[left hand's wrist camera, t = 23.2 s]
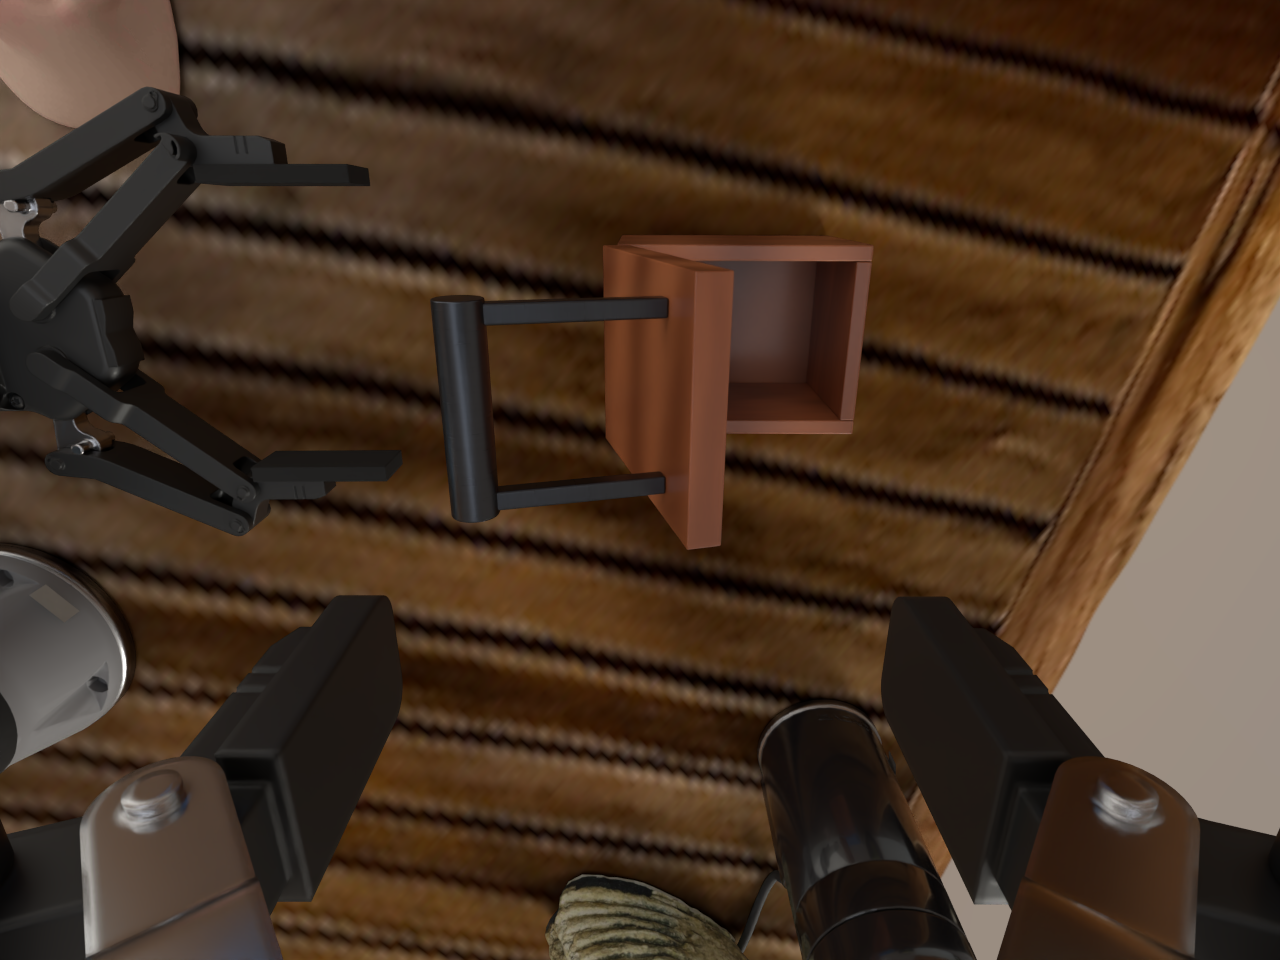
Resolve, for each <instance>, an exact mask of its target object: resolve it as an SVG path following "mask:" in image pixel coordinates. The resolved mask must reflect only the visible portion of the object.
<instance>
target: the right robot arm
mask: <svg viewBox="0 0 1280 960" xmlns="http://www.w3.org/2000/svg"><path fill="white" fill-rule="evenodd" d="M197 116H198V113H197V108H196V106H195V104H194V103H193V102H192V101H191V100H190V99H189V98H187V97H185V96H181V95H178V94H174V93H171V92H167V91H164V90H160V89H157V88H153V87H147V86H146V87H143V88H141V89H139V90H137V91H136V92H134V93H133V94H131V95H129V96H128V97H126V98H125V99H123V100H121V101H120V102H118V103H117V104H115V105H113V106H112V107H110V108H108V109H107V110H105V111H104V112H102V113H100V114H99V115H97V116H96V117H94V118H92V119H91V120H89V121H88V122H86V123H84V124H83V125H81V126H80V127H78V128H76V129H75V130H73V131H71V132H70V133H68V134H67V135H65V136H63V137H62V138H60V139H59V140H57V141H55V142H54V143H52V144H51V145H49V146H47V147H46V148H44V149H43V150H41V151H39V152H38V153H36V154H34V155H33V156H31V157H30V158H28V159H26V160H25V161H23V162H22V163H20V164H18V165H17V166H15V167H14V168H12V169H4V170H0V233H1V235H2V238H3V239H2V240H1V241H0V411H32V412H36V413H39V414H42V415H44V416H46V417H48V418H50V419H53V422H54V428H55V435H56V441H57V447H58V450H56V451H54V452H51V453H49V454H48V455H47V456H46V458H45V465H46V467H47V468H48V470H49V471H50V472H52V473H53V474H56V475H59V476H70V477H80V478H90V479H96V480H99V481H101V482H104V483H106V484H109V485H111V486H114V487H116V488H119V489H121V490H123V491H126V492H128V493H131V494H133V495H136V496H138V497H141V498H143V499H146V500H148V501H151V502H153V503H156V504H158V505H160V506H163V507H165V508H168V509H170V510H173V511H175V512H178V513H180V514H183V515H185V516H188V517H190V518H192V519H195V520H197V521H200V522H202V523H205V524H207V525H210V526H212V527H215V528H217V529H220V530H222V531H225V532H227V533H229V534H232V535H235V536H243V535H244V534H246V533H247V532H249V531H250V530H251V529H252V528H253V527H255V526H256V525H257V524H258V523H259V522H261V521H262V520H263V519H264V518H265V517H267V516H268V515H269V513H270V510H271V507H270V504H269V499H317V498H320V497H322V496H325V495H326V494H327V493H329V492H330V491H331V490H332V489H333V488H334V487H335V486H336V482H335V481H387V480H388V479H389V478H390V477H391V476H392V475H393V474H394V473H395V472H396V470H397V469H398V468H399V467H400V466H401V465H402V464H403V463H402V455H401V450H362V451H275V452H274V453H272V454H271V455H269V456H268V457H266V458H265V459H263V460H260V459H259V458H257V457H256V456H255V455H253V454H252V453H250V452H249V451H247V450H246V449H244V448H243V447H241V446H240V445H239V444H237V443H236V442H234V441H233V440H231V439H230V438H228V437H227V436H225V435H224V434H223V433H221V432H220V431H218V430H217V429H215V428H214V427H212V426H211V425H209V424H208V423H207V422H205V421H204V420H202V419H201V418H199V417H198V416H196V415H195V414H194V413H192V412H191V411H189V410H188V409H186V408H185V407H183V406H182V405H180V404H179V403H178V402H176V401H175V400H173V399H172V398H170V397H169V396H167V395H166V394H165V391H164V388H163V386H162V385H160V384H159V383H158V382H156V381H155V380H153V379H152V378H150V377H149V376H147V375H146V374H145V373H143V372H142V371H140V370H139V369H138V367H139V361H141V360H145V359H144V355H143V350H142V346H141V343H140V341H139V339H138V337H137V335H136V333H135V331H134V329H133V307H132V303H131V299H130V295H124V294H123V292H122V291H121V289H120V288H119V287H118V286H117V284H116V282H117V281H118V280H119V279H120V278H121V277H122V276H123V275H124V273H125V272H126V271H127V270H128V269H129V268H130V267H131V266H132V265H133V264H134V262H135V258H134V257H135V255H136V254H137V253H138V252H139V250H140V249H141V248H142V247H143V246H144V245H145V244H146V243H147V242H148V241H149V240H150V238H151V237H152V236H153V235H154V234H155V233H156V232H157V231H158V230H159V229H160V228H161V226H162V225H163V224H164V223H165V222H166V221H167V220H168V219H169V218H170V217H171V216H172V214H173V213H174V212H175V211H176V210H177V209H178V208H179V207H180V206H181V205H182V204H183V202H184V201H185V200H186V199H187V198H188V197H189V196H190V195H191V194H192V193H193V192H194V190H195V189H196V188H197V187H198V186H199V185H200V184H213V185H224V186H370V181H369V172H368V168H363V167H358V166H354V165H349V164H288V162H287V156H286V149H285V144H283V143H281V142H278V141H276V140H273V139H269V138H265V137H261V136H209V135H208V134H207V133H206V132H205V131H204V130H203V129H202V127H201V126H200V124H199V122H198V120H197ZM156 146H157V147H156ZM154 147H156V148H155V149H154V150H153V151H152V152H151V153H150V155H149V156H148V157H147V158H146V159H145V160H144V161H143V162H142V164H141V165H140V166H139V167H138V168H137V169H136V170H135V171H134V173H133V174H132V175H131V176H130V177H129V178H128V179H127V180H126V182H125V183H124V184H123V185H122V186H121V187H120V188H119V189H118V191H117V192H116V193H115V194H114V195H113V196H112V197H111V199H110V200H109V201H108V202H107V203H106V204H105V205H104V206H103V208H102V209H101V210H100V211H99V212H98V213H97V214H96V215H95V217H94V218H93V219H92V220H91V221H90V222H89V223H88V224H87V226H86V227H85V228H84V229H83V230H82V231H81V232H80V234H79V235H78V236H77V237H75V238H74V239H71V240H69V241H67V242H65V243H64V244H62V245H61V246H60V247H59V246H57V245H55V244H54V243H52V242H51V241H49V240H47V239H44V238H41V237H40V236H39V232H38V230H39V225H40V224H41V222H42V221H44V220H46V219H49V218H50V217H51V215H52V213H55V212H56V211H57V205H56V203H55V202H54V201H58V200H63V199H66V198H69V197H72V196H74V195H76V194H78V193H80V192H82V191H83V190H85V189H87V188H88V187H90V186H91V185H93V184H95V183H96V182H98V181H100V180H101V179H103V178H105V177H106V176H108V175H110V174H111V173H113V172H115V171H116V170H118V169H120V168H121V167H123V166H124V165H126V164H128V163H129V162H131V161H133V160H134V159H136V158H138V157H139V156H141V155H143V154H144V153H146V152H148V151H149V150H151V149H153V148H154ZM119 389H121V390H123V392H116V391H117V390H119ZM91 412H94V413H96V414H97V415H99V416H100V417H102V418H103V419H105V420H107V421H109V422H112V423H120V424H123V425H125V426H126V427H128V428H129V429H131V430H132V431H134V432H135V433H137V434H138V435H140V436H141V437H143V438H144V439H146V440H147V441H149V442H150V443H152V444H153V445H155V446H156V447H158V448H159V449H161V450H162V451H164V452H165V453H167V454H168V455H170V456H171V457H173V458H174V459H176V460H177V461H179V462H180V463H182V464H183V465H182V464H180V463H177V462H175V461H173V460H170V459H168V458H165V457H163V456H161V455H158V454H156V453H153V452H151V451H149V450H146V449H144V448H141V447H139V446H136V445H133V444H129V443H125V442H120V441H114V440H115V435H114V434H113V433H112V432H110V431H106V432H105V431H103V430H100V429H97V428H95V427H93V426H92V425H91V424H90V423H89V421H88V419H87V414H89V413H91ZM135 664H136V654H135V646H134V641H133V638H132V634H131V632H130V629H129V627H128V624H127V622H126V621H125V619H124V617H123V615H122V613H121V612H120V610H119V609H118V607H117V606H116V605H115V603H114V602H113V601H112V600H111V598H110V597H109V596H108V595H107V594H106V593H105V592H104V591H103V590H102V589H101V588H100V587H99V586H98V585H97V584H96V583H95V582H94V581H92V580H91V579H90V578H89V577H88V576H86V575H85V574H83V573H82V572H81V571H79V570H78V569H76V568H75V567H73V566H71V565H70V564H68V563H66V562H64V561H62V560H60V559H58V558H56V557H54V556H52V555H49V554H47V553H44V552H41V551H38V550H35V549H32V548H28V547H24V546H20V545H14V544H6V543H0V773H1V772H3V771H4V770H5V769H6V768H7V767H9V766H10V765H12V764H14V763H16V762H18V761H20V760H22V759H24V758H26V757H28V756H30V755H32V754H34V753H36V752H38V751H40V750H42V749H44V748H46V747H49V746H51V745H53V744H55V743H57V742H59V741H61V740H63V739H65V738H67V737H69V736H71V735H73V734H75V733H77V732H79V731H81V730H83V729H85V728H86V727H88V726H89V725H91V724H92V723H94V722H95V721H97V720H98V719H100V718H101V717H102V716H103V715H105V714H106V713H107V712H108V711H109V710H110V709H111V708H112V707H113V706H114V705H115V704H116V703H117V702H118V701H119V700H120V699H121V698H122V697H123V696H124V694H125V693H126V691H127V690H128V688H129V686H130V684H131V682H132V679H133V676H134V671H135Z"/></svg>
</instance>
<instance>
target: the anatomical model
mask: <svg viewBox="0 0 1280 960" xmlns="http://www.w3.org/2000/svg"><path fill="white" fill-rule="evenodd" d="M0 77H1V79H2V80H3V81H4V82H5V83H6V84H7V85H8V87H9V88H10V89H11V90H12V91H13V92H14V93H15V94H16V95H17V96H18V97H19V98H20V99H21V100H22V101H23V102H24V103H25V104H26V105H28V106H29V107H30V108H31V109H33V110H34V111H35V112H37V113H38V114H40V115H41V116H43V117H45V118H47V119H49V120H51V121H54V122H56V123H58V124H62V125H65V126H68V127H73V128H78V127H80V126H81V125H83V124H84V123H86V122H88V121H89V120H91V119H92V118H94V117H96V116H97V115H99V114H100V113H102V112H104V111H105V110H107V109H108V108H110V107H112V106H113V105H115V104H117V103H118V102H120V101H121V100H123V99H125V98H126V97H128V96H129V95H131V94H133V93H134V92H136V91H137V90H139V89H141V88H143V87H146V86H147V87H153V88H157V89H160V90H164V91H167V92H171V93H174V94H178V95H180V68H179V53H178V40H177V33H176V28H175V23H174V18H173V13H172V9H171V4H170V0H0Z"/></svg>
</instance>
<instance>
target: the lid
mask: <svg viewBox="0 0 1280 960" xmlns="http://www.w3.org/2000/svg"><path fill="white" fill-rule="evenodd" d="M603 270H604V297H603V298H570V299H538V300H506V301H484V298H483V297H480V296H473V295H451V296H440V297H435V298H432V299H431V300H430V303H431V313H432V323H433V333H434V343H435V353H436V363H437V373H438V383H439V393H440V403H441V413H442V423H443V433H444V443H445V453H446V463H447V473H448V483H449V493H450V503H451V513H452V517H453V518H454V519H455V520H457V521H460V522H467V523H476V522H483V521H487V520H490V519H492V518H494V517H496V516H497V515H498V514H499V512H500V510H506V509H516V508H526V507H536V506H546V505H556V504H566V503H576V502H586V501H595V500H605V499H615V498H625V497H635V496H645V495H648V497H649V498H650V499H651V501H652V502H653V503H654V505H655V506H656V508H657V509H658V510H659V512H660V513H661V514H662V516H663V517H664V519H665V520H666V521H667V523H668V524H669V525H670V527H671V528H672V529H673V531H674V532H675V534H676V535H677V536H678V538H679V539H680V540H681V542H682V543H683V545H684V546H685V547H686V549H688V550H689V549H697V548H706V547H714V546H720V545H721V530H722V509H723V489H724V468H725V448H726V427H727V407H728V387H729V366H730V346H731V325H732V305H733V284H734V271H733V270H730V269H726V268H722V267H717V266H713V265H709V264H705V263H701V262H697V261H693V260H689V259H685V258H680V257H676V256H672V255H668V254H664V253H660V252H656V251H652V250H648V249H643V248H639V247H635V246H631V245H604V246H603ZM588 321H604V339H605V408H606V439H607V440H608V442H609V443H610V444H611V446H612V447H613V449H614V450H615V451H616V453H617V454H618V455H619V457H620V458H621V460H622V461H623V462H624V464H625V465H626V466H627V468H628V469H629V471H630V472H631V473H632V474H624V475H614V476H603V477H592V478H581V479H571V480H560V481H549V482H538V483H528V484H517V485H506V486H498V479H497V465H496V451H495V438H494V424H493V410H492V397H491V383H490V369H489V356H488V342H487V329H486V325H511V324H537V323H562V322H588Z"/></svg>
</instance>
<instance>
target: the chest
mask: <svg viewBox="0 0 1280 960" xmlns="http://www.w3.org/2000/svg"><path fill="white" fill-rule="evenodd" d="M617 245H631V246H635V247H639V248H643V249H648V250H652V251H656V252H660V253H664V254H668V255H672V256H676V257H680V258H685V259H689V260H693V261H697V262H701V263H705V264H709V265H713V266H717V267H722V268H726V269H730V270H733V271H734V284H733V305H732V325H731V346H730V366H729V387H728V407H727V427H726V433H728V434H852V430H853V419H854V413H855V404H856V396H857V387H858V378H859V369H860V361H861V352H862V343H863V335H864V326H865V317H866V309H867V300H868V291H869V283H870V274H871V265H872V262H871V261H872V256H873V248H874V247H873V245H870V244H865V243H860V242H855V241H851V240H846V239H841V238H836V237H831V236H767V235H622V236H621V238H620V240H619V242H618V244H617Z"/></svg>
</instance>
